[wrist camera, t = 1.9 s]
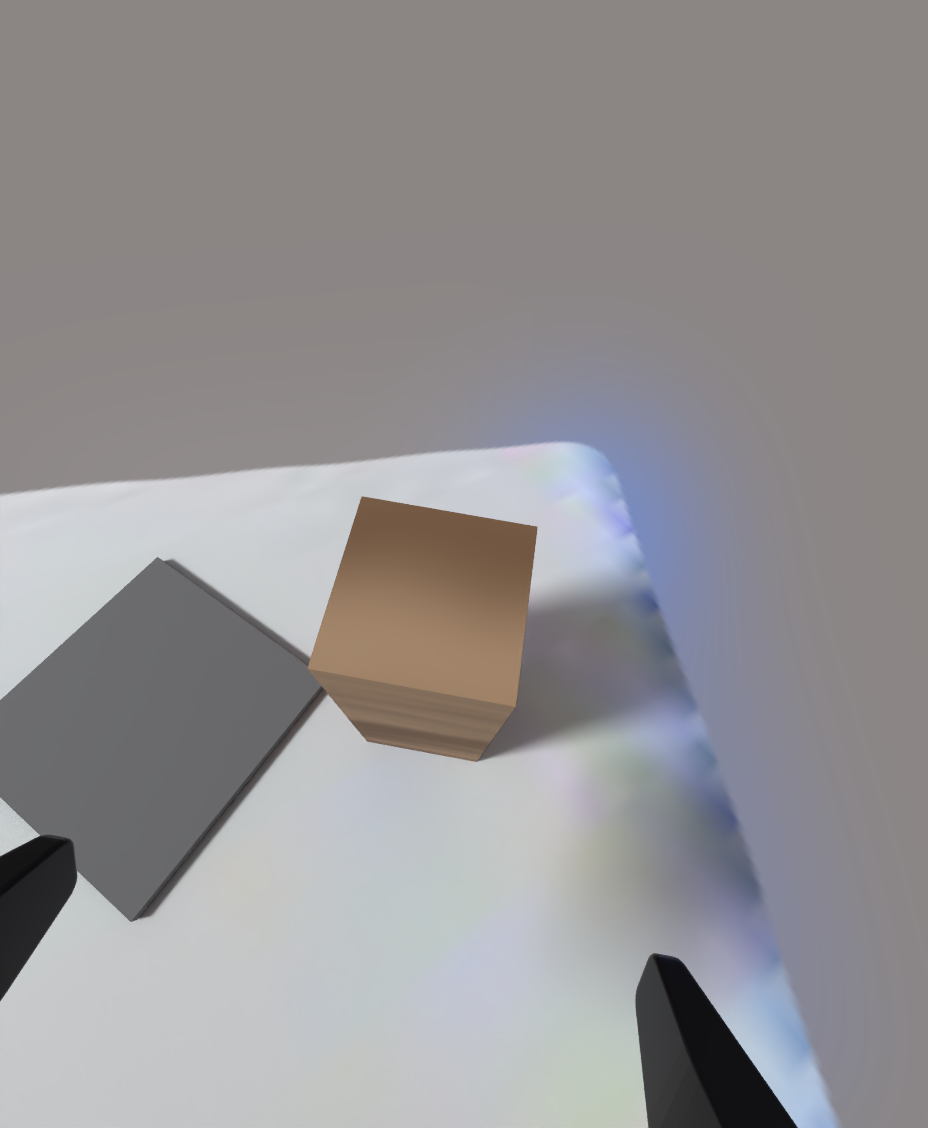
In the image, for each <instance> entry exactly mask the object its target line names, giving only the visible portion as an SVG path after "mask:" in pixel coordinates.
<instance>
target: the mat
mask: <svg viewBox="0 0 928 1128" xmlns="http://www.w3.org/2000/svg"><path fill="white" fill-rule="evenodd" d="M307 668H308V666H307V665H306V664H304V663H303V662H302V661H300V660H299V659H298V658H296V657H295V656H293V655H292V654H291V653H289V652H288V651H287V650H285V649H284V648H282V647H281V646H280V645H278V644H277V643H275V642H274V641H273V640H271V639H270V638H269V637H267V636H266V635H264V634H263V633H262V632H260V631H259V630H258V629H256V628H255V627H253V626H252V625H251V624H249V623H248V622H247V621H245V620H244V619H242V618H241V617H240V616H238V615H237V614H236V613H234V612H233V611H231V610H230V609H229V608H227V607H226V606H224V605H223V604H222V603H220V602H219V601H218V600H216V599H215V598H213V597H212V596H211V595H209V594H208V593H207V592H205V591H204V590H202V589H201V588H200V587H198V586H197V585H196V584H194V583H193V582H191V581H190V580H189V579H187V578H186V577H184V576H183V575H182V574H180V573H179V572H178V571H176V570H175V569H173V568H172V567H171V566H169V565H168V564H167V563H165V562H164V561H162V560H161V559H160V558H158V557H157V558H156V559H155V560H154V561H153V562H152V563H151V564H149V565H148V566H147V567H146V568H145V569H144V570H143V571H142V572H141V573H140V574H138V575H137V576H136V577H135V578H134V579H133V580H132V581H131V582H130V583H129V584H127V585H126V586H125V587H124V588H123V589H122V590H121V591H120V592H119V593H118V594H116V595H115V596H114V597H113V598H112V599H111V600H110V601H109V602H108V603H107V604H106V605H104V606H103V607H102V608H101V609H100V610H99V611H98V612H97V613H96V614H95V615H93V616H92V617H91V618H90V619H89V620H88V621H87V622H86V623H85V624H84V625H82V626H81V627H80V628H79V629H78V630H77V631H76V632H75V633H74V634H73V635H71V636H70V637H69V638H68V639H67V640H66V641H65V642H64V643H63V644H62V645H60V646H59V647H58V648H57V649H56V650H55V651H54V652H53V653H52V654H51V655H50V656H48V657H47V658H46V659H45V660H44V661H43V662H42V663H41V664H40V665H39V666H37V667H36V668H35V669H34V670H33V671H32V672H31V673H30V674H29V675H28V676H26V677H25V678H24V679H23V680H22V681H21V682H20V683H19V684H18V685H17V686H15V687H14V688H13V689H12V690H11V691H10V692H9V693H8V694H7V695H6V696H4V697H3V698H2V699H1V700H0V797H1V798H2V799H3V800H4V801H5V802H6V803H7V804H8V805H9V806H10V807H11V808H12V809H13V810H14V811H15V812H16V813H17V814H18V815H19V816H20V817H22V818H23V819H24V820H25V821H26V822H27V823H28V824H29V825H30V826H31V827H32V828H33V829H34V830H35V831H36V832H37V833H38V834H39V835H40V836H42V835H55V836H60V837H65V838H69V839H71V840H72V841H73V843H74V849H75V858H76V868H77V871H78V872H79V873H80V874H81V875H82V876H83V877H84V878H85V879H86V880H87V881H89V882H90V883H91V884H92V885H93V886H94V887H95V888H96V889H97V890H98V891H99V892H100V893H101V894H102V895H103V896H104V897H105V898H106V899H107V900H108V901H109V902H111V903H112V904H113V905H114V906H115V907H116V908H117V909H118V910H119V911H120V912H121V913H122V914H123V915H124V916H125V917H126V918H127V919H128V920H129V921H130V922H132V921H135V920H137V919H138V918H139V917H140V916H141V914H142V913H143V912H144V911H145V909H146V908H147V907H148V906H149V904H150V903H151V902H152V901H153V899H154V898H155V897H156V896H157V894H158V893H159V892H160V891H161V889H162V888H163V887H164V886H165V884H166V883H167V882H168V881H169V879H170V878H171V877H172V876H173V874H174V873H175V872H176V871H177V869H178V868H179V867H180V866H181V864H182V863H183V862H184V861H185V859H186V858H187V857H188V856H189V854H190V853H191V852H192V851H193V849H194V848H195V847H196V846H197V844H198V843H199V842H200V841H201V840H202V838H203V837H204V836H205V835H206V833H207V832H208V831H209V830H210V828H211V827H212V826H213V825H214V823H215V822H216V821H217V820H218V818H219V817H220V816H221V815H222V813H223V812H224V811H225V810H226V808H227V807H228V806H229V805H230V803H231V802H232V801H233V800H234V798H235V797H236V796H237V795H238V793H239V792H240V791H241V790H242V788H243V787H244V786H245V785H246V783H247V782H248V781H249V780H250V778H251V777H252V776H253V775H254V773H255V772H256V771H257V770H258V769H259V767H260V766H261V765H262V764H263V762H264V761H265V760H266V759H267V757H268V756H269V755H270V754H271V752H272V751H273V750H274V749H275V747H276V746H277V745H278V744H279V742H280V741H281V740H282V739H283V737H284V736H285V735H286V734H287V732H288V731H289V730H290V729H291V727H292V726H293V725H294V724H295V722H296V721H297V720H298V719H299V717H300V716H301V715H302V714H303V712H304V711H305V710H306V709H307V707H308V706H309V705H310V704H311V702H312V701H313V700H314V699H315V697H316V696H317V695H318V694H319V693H320V691H321V690H322V689H323V687H322V686H321V685H320V684H319V682H318V681H317V680H316V679H315V677H314V676H313V675H312V674H311V673H310V671H309V670H308V669H307Z"/></svg>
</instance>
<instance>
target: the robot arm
mask: <svg viewBox="0 0 928 1128" xmlns="http://www.w3.org/2000/svg"><path fill="white" fill-rule="evenodd" d="M76 881H77V868H76V858H75V849H74V843H73V841H72V840H71V839H69V838H65V837H60V836H55V835H42V836H39V837H37V838H35V839H33V840H31V841H29V842H27V843H25V844H23V845H21V846H19V847H17V848H15V849H13V850H11V851H9V852H8V853H6V854H4V855H2V856H0V1001H1V1000H2V998H3V997H4V995H5V994H6V992H7V991H8V989H9V988H10V986H11V985H12V983H13V982H14V980H15V979H16V977H17V976H18V974H19V973H20V971H21V970H22V968H23V967H24V965H25V964H26V962H27V961H28V959H29V958H30V956H31V955H32V953H33V952H34V950H35V949H36V947H37V946H38V944H39V943H40V941H41V940H42V938H43V937H44V935H45V933H46V932H47V930H48V929H49V927H50V926H51V924H52V923H53V921H54V920H55V918H56V917H57V915H58V914H59V912H60V911H61V909H62V908H63V906H64V905H65V903H66V902H67V900H68V899H69V897H70V896H71V894H72V892H73V890H74V888H75V885H76ZM635 1001H636V1016H637V1025H638V1034H639V1044H640V1053H641V1062H642V1072H643V1081H644V1091H645V1100H646V1109H647V1119H648V1127H649V1128H798V1127H797V1126H796V1125H795V1123H794V1122H793V1120H792V1119H791V1117H790V1116H789V1114H788V1113H787V1112H786V1110H785V1109H784V1107H783V1106H782V1104H781V1103H780V1101H779V1100H778V1099H777V1097H776V1096H775V1094H774V1093H773V1091H772V1090H771V1089H770V1087H769V1086H768V1084H767V1083H766V1081H765V1080H764V1078H763V1077H762V1076H761V1074H760V1073H759V1071H758V1070H757V1068H756V1067H755V1065H754V1064H753V1063H752V1061H751V1060H750V1058H749V1057H748V1055H747V1054H746V1053H745V1051H744V1050H743V1048H742V1047H741V1045H740V1044H739V1042H738V1041H737V1040H736V1038H735V1037H734V1035H733V1034H732V1032H731V1031H730V1029H729V1028H728V1027H727V1025H726V1024H725V1022H724V1021H723V1019H722V1018H721V1017H720V1015H719V1014H718V1012H717V1011H716V1009H715V1008H714V1006H713V1005H712V1004H711V1002H710V1001H709V999H708V998H707V996H706V995H705V993H704V992H703V991H702V989H701V988H700V986H699V985H698V983H697V982H696V981H695V979H694V978H693V976H692V975H691V973H690V972H689V970H688V969H687V968H686V966H685V965H684V964H683V962H682V961H680V960H679V959H678V958H676V957H672V956H667V955H662V954H657V953H653V954H652V955H650V957H649V958H648V961H647V963H646V966H645V968H644V971H643V974H642V976H641V979H640V981H639V984H638V987H637V990H636V999H635Z"/></svg>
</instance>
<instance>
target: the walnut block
mask: <svg viewBox="0 0 928 1128" xmlns="http://www.w3.org/2000/svg"><path fill="white" fill-rule="evenodd" d="M536 535H537V527H536V526H530V525H524V524H518V523H513V522H507V521H501V520H495V519H489V518H484V517H478V516H472V515H466V514H461V513H455V512H449V511H443V510H437V509H432V508H426V507H420V506H414V505H409V504H403V503H397V502H391V501H385V500H380V499H374V498H368V497H361V500H360V504H359V507H358V510H357V513H356V516H355V519H354V522H353V526H352V529H351V532H350V535H349V538H348V541H347V545H346V548H345V551H344V554H343V557H342V560H341V564H340V567H339V570H338V573H337V576H336V579H335V582H334V586H333V589H332V592H331V595H330V598H329V601H328V605H327V608H326V611H325V614H324V617H323V620H322V624H321V627H320V630H319V633H318V636H317V639H316V642H315V646H314V649H313V652H312V655H311V658H310V661H309V665H308V668H307V669H308V670H309V671H310V673H311V674H312V675H313V676H314V677H315V679H316V680H317V681H318V682H319V684H320V685H321V686H322V687H323V688H324V690H325V691H326V692H327V693H328V694H329V696H330V697H331V698H332V699H333V701H334V702H335V703H336V704H337V705H338V707H339V708H340V709H341V710H342V711H343V713H344V714H345V715H346V716H347V718H348V719H349V720H350V721H351V722H352V724H353V725H354V726H355V727H356V728H357V730H358V731H359V732H360V733H361V734H362V736H363V737H364V738H365V739H366V741H368V742H374V743H379V744H384V745H390V746H395V747H400V748H406V749H411V750H416V751H422V752H427V753H432V754H438V755H443V756H448V757H454V758H459V759H464V760H470V761H475V762H477V760H478V759H479V757H480V756H481V755H482V753H483V752H484V750H485V749H486V748H487V746H488V745H489V744H490V742H491V741H492V739H493V738H494V737H495V735H496V734H497V732H498V731H499V730H500V728H501V727H502V725H503V724H504V723H505V721H506V720H507V718H508V717H509V716H510V714H511V713H512V712H513V710H514V709H515V707H516V701H517V693H518V685H519V676H520V668H521V660H522V652H523V643H524V635H525V627H526V618H527V610H528V602H529V593H530V585H531V577H532V568H533V560H534V552H535V544H536Z"/></svg>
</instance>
